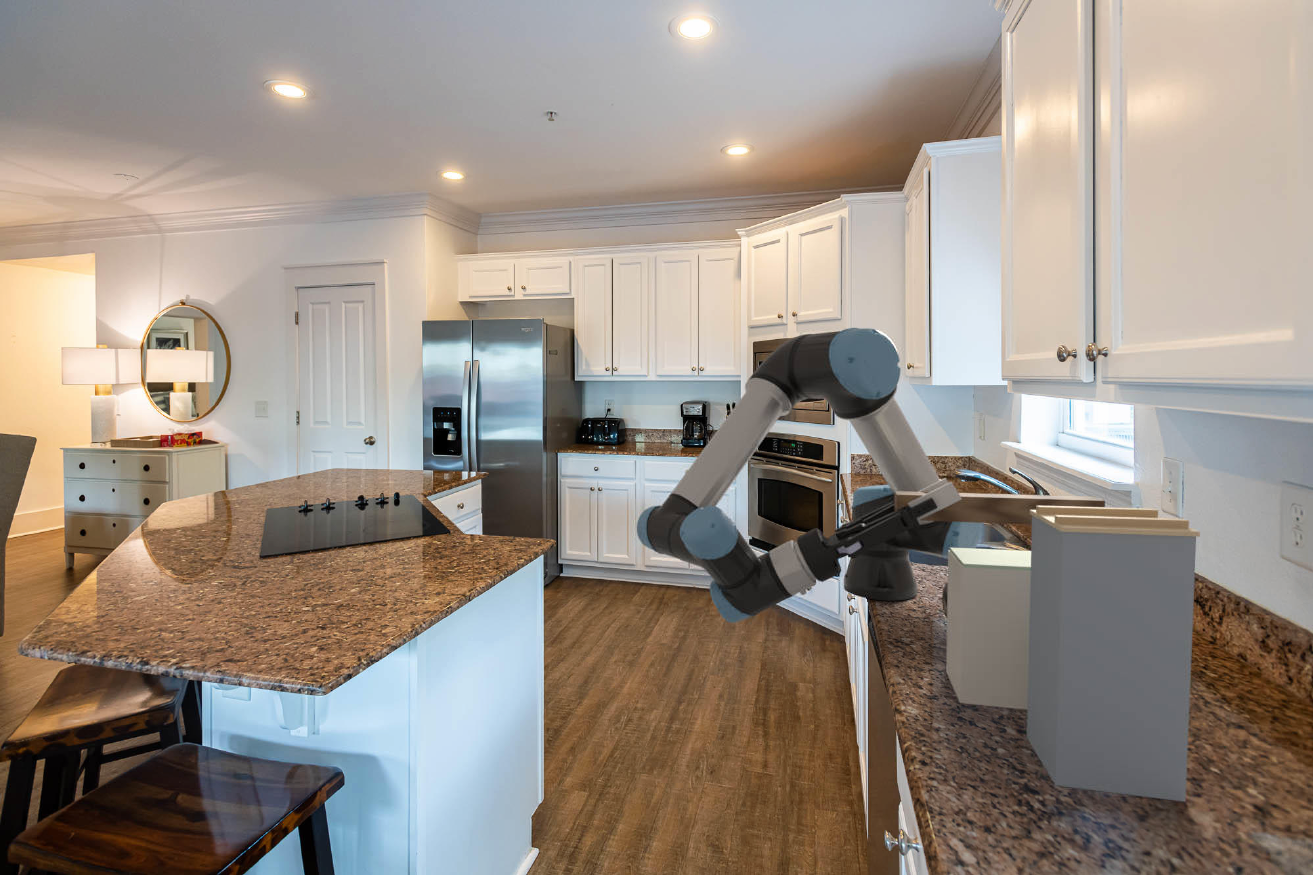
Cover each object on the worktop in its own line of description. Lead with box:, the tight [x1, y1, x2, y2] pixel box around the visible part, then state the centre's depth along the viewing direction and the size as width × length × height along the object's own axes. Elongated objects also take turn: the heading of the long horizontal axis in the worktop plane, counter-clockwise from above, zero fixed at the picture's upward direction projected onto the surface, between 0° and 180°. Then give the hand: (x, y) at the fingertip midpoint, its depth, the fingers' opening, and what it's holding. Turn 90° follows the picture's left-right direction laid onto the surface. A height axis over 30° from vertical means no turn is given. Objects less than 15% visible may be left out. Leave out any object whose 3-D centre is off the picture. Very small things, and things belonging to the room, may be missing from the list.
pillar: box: [1026, 506, 1201, 803], centre depth 71 cm, size 12×10×29 cm
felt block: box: [945, 548, 1031, 711], centre depth 89 cm, size 20×10×20 cm, turn 75°
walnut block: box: [894, 491, 1106, 526], centre depth 89 cm, size 26×4×4 cm, turn 75°
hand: (952, 488), depth 90 cm, fingers closed on walnut block, 4 cm apart
